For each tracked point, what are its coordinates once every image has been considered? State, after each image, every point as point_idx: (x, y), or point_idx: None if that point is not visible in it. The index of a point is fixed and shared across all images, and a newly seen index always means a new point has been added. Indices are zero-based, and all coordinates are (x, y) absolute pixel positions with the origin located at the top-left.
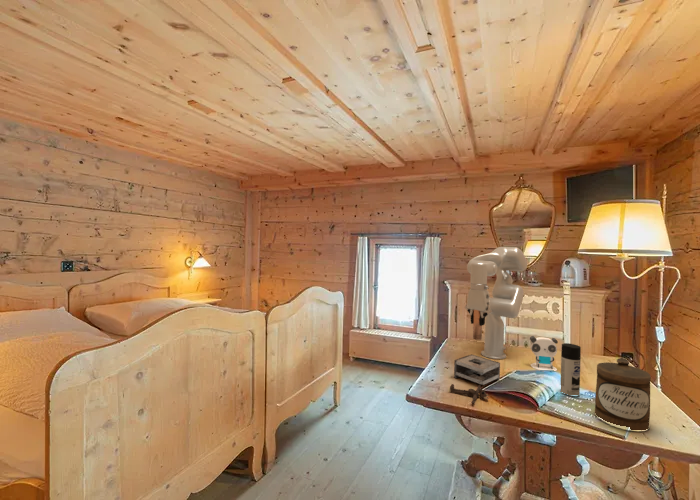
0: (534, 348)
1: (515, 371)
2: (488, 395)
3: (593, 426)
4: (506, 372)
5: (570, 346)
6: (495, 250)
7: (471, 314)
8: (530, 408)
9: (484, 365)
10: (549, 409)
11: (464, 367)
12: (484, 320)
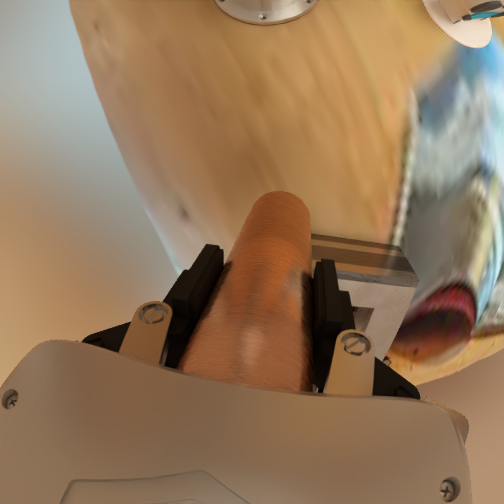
0: (482, 9)
1: (418, 110)
2: (390, 362)
3: None
4: (398, 146)
5: None
6: None
7: (174, 364)
8: (461, 339)
9: (374, 341)
10: (490, 318)
11: None
12: (349, 320)
